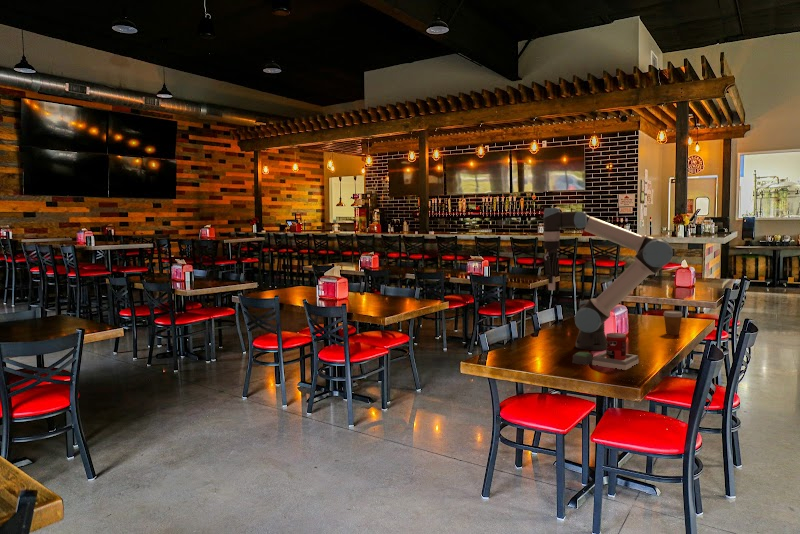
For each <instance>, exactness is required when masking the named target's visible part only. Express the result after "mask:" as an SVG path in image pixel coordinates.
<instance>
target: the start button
mask: <svg viewBox="0 0 800 534" xmlns="http://www.w3.org/2000/svg"><path fill="white" fill-rule="evenodd" d="M574 354H575V355H577V356H584V357H587V356H590V355H591V354H592V353H591V352H586V351H578V352H576V353H574Z"/></svg>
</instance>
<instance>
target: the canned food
mask: <svg viewBox="0 0 800 534" xmlns="http://www.w3.org/2000/svg"><path fill="white" fill-rule="evenodd" d="M605 335H606V349H605V351H606V358H610V359H616V360H625V359H626V354H627V335H626V334H625V333H620V332H609V333H605Z"/></svg>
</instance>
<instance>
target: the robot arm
mask: <svg viewBox="0 0 800 534" xmlns="http://www.w3.org/2000/svg"><path fill="white" fill-rule="evenodd" d="M563 228H564V229H565V228H566V229H575V228H576V229H579V230H581V231H584V232H587V233H589V234H592V235H594V236H597V237H599V238H602V239H605V240H607V241H609V242H612V243H615V244H617V245H619V246H622V247H624V248H627V249H629V250H632V251H635V253H636V254H635V256H634V261H632V263H631V264H630V265H629V266H628V267H627V268H626V269H624V271H623V272H621V274H620V275H619V276H617V278H615V279H614V281H613V282H612V283H610V284H609V285H608V286H607V287H606V288H605V289H604V290H603V291H602V292H601V293H600V294H599V295H598V296H597V297H596V298H589V300H579V305H578V307H579V309H578V310H577V311H576V313H575V314H574V324H575V325H576V328H578V329H579V331H578V335H577V338H576V340H575V348H577V349H580V350H586V351H604V350H605V351H606V333H605V322H606V321H607V320H608V319H610V317H611V311H613V310H614V309H615V308H616V307H617V306H618V305H619V304H620V303H621V302H622V301H623V300H624V299H625V298H627V296H628V295H630V294H631V293H632V292H633V291H634V289H636V288H637V287H638V286H639V285H640V284H642V282H644V280H645V279H646V278H647V277H649V276H650V275H656V274H657V273H658V272H659V271H660V270H662V268H663V267H664V266H666V265H668V264H669V263H670V262H671V261H672V258H673V255H674V250H673V248H672V245H671V244H670V243H669V242H668V241H667V240H666V239H661V238H657V237H654V236H653V237H652V236H650V235H647V234H644V235H640V234H638V233H635V232H633V231H630V230H628V229H625V228H622V227H620V226H617V225H615V224H612V223H609V222H607V221H604V220H602V219H599V218H596V217H593V216H590V215H588V214H587V212H586V211H580V210H579V211H578V210H577V211H561V209H560V208H559V207H547V208H546V207H545V208H544V209H543V234H542V235H543V250H545V255H543V256H542V259H543V264H544V265H543V266H544V271H545V276H546V277H547V279H548V280H547V284H548V286H547V287H548V291H555V290H556V277H557V276H558V274H559V265H560V258H561V254H558V253H559V251H558V250H559V249H560V248H561V229H563Z"/></svg>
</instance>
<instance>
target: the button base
mask: <svg viewBox="0 0 800 534" xmlns="http://www.w3.org/2000/svg"><path fill="white" fill-rule="evenodd" d="M575 354H576V353H574V354H573V355H572V361H571V363H572V364H574V365H575V364H576V365H581V364H583V365H582V366H589V365H592V360H593V357H594V354H593V353H591V355H590V356H587V357H584V356H577V355H575ZM588 364H589V365H588Z"/></svg>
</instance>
